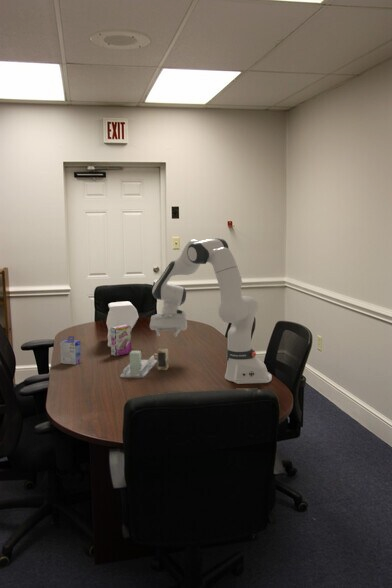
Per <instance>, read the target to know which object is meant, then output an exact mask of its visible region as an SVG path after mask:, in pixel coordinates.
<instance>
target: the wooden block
mask: <svg viewBox="0 0 392 588" xmlns="http://www.w3.org/2000/svg"><path fill="white" fill-rule="evenodd" d="M156 352H157V353H156V354H157V370H158V371H167V370H168V369H169V348H159V349H158V350H157V351H156Z"/></svg>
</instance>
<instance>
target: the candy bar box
mask: <svg viewBox="0 0 392 588" xmlns="http://www.w3.org/2000/svg"><path fill="white" fill-rule="evenodd" d="M131 351H132V330H131V326H130V325H121V326H116V327H111V347H110V354H111V356H114V357H119V356H124V355H127V354H130V352H131Z"/></svg>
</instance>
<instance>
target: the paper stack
mask: <svg viewBox="0 0 392 588" xmlns="http://www.w3.org/2000/svg"><path fill="white" fill-rule="evenodd" d="M107 305H108V308H109V311H108V313H107V317H106V327H107V340H108V341H107V347H108V348H111V327H116V326H121V325H130V326H131V331H132V329H133V328H134V327H135V325H136V323H137V321H138V319H139V313H138V310H137V308H136V307H135V306H134V305H133V304H132V302H130V301H127V300H126V301H116V302H110V303H108V304H107Z"/></svg>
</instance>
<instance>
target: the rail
mask: <svg viewBox="0 0 392 588" xmlns="http://www.w3.org/2000/svg"><path fill="white" fill-rule="evenodd" d="M155 358H156V357H155V355H151V356H150V357H149V358H148V359H142V351H141V350H131V352H130V353H129V363H128V365H126V366H125V367H124V369H123V370H122V373H121V374H120V375H119V376H120V378H129V379H130V378H133V379H134V378H135V379H136V378H137V379H138V378H139V379H142V378H143V379H145V378H146V376H147V375H148V374H149V373H150V372H151V370H152V369H153V367H154V366H155V365H156V364H157V363H158V359H155Z"/></svg>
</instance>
